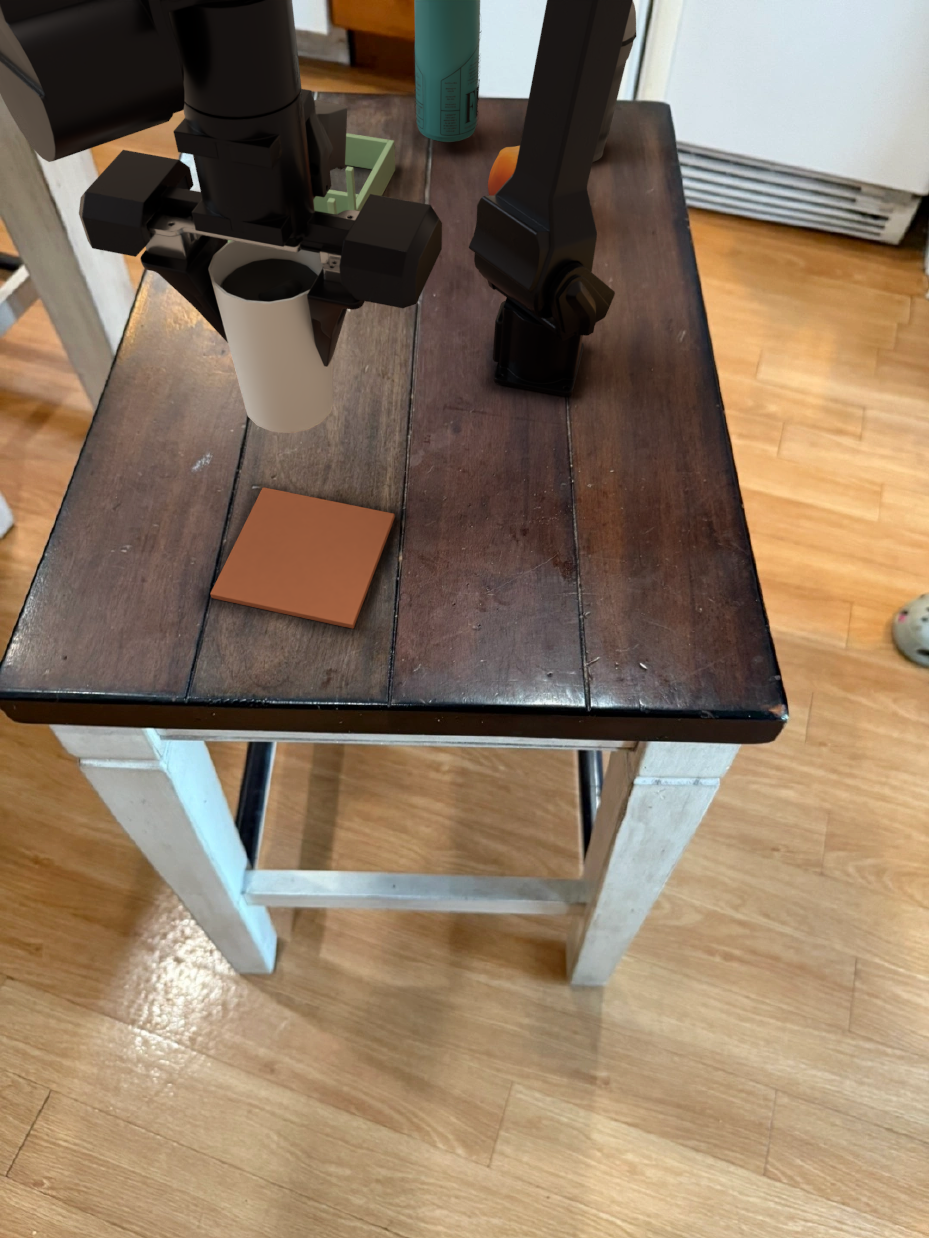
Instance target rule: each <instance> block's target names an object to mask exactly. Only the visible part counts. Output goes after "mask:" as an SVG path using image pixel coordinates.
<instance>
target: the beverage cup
mask: <svg viewBox="0 0 929 1238" xmlns="http://www.w3.org/2000/svg"><path fill="white" fill-rule="evenodd" d="M636 11H637V10H636V5H635V2H634V0H633V1H632V5H631V9H630V13H629V17H628V21H627V25H626V29H625V34H624V38H623V42H622V46H621V50H620V54H619V58H618V62H617V66H616V70H615V74H614V78H613V82H612V86H611V90H610V94H609V98H608V102H607V106H606V110H605V114H604V118H603V122H602V126H601V130H600V134H599V138H598V143H597V147H596V151H595V155H594V159H593V163H594V162H597V161H599V160H600V159H601V158H602V157H603V155H604V149H605V147H606V143H607V141H608V138H609V133H610V130H611V125H612V121H613V117H614V113H615V110H616V105H617V100H618V97H619V93H620V90H621V89H620V88H621V85H622V82H623V76H624V73H625V68H626V64H627V61H628V60H629V57H630V55H631V52H632V49H633V46H634V41H635V39H637V12H636Z"/></svg>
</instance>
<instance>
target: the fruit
mask: <svg viewBox="0 0 929 1238" xmlns="http://www.w3.org/2000/svg"><path fill="white" fill-rule="evenodd" d="M519 148H520V145H517V146H516V145H515V146H506V147H504V148H502V149H500V151H499V153H498V154H497V156H496V158H495V160H494V162H493V164H492V166H491V169H490V171H489V175H488V182H487V191H488V196H494V195H495V194H496V192H497V191H498V190H499V189H500V188H501V187H502V186H503V185H504V183H505V182H506V181H507V180H508V179H509V178H510V177H511V176H512V175H513V173H514V171H515V167H516V164H517V159H518V153H519Z"/></svg>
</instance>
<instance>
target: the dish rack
mask: <svg viewBox="0 0 929 1238" xmlns="http://www.w3.org/2000/svg"><path fill="white" fill-rule="evenodd" d="M345 166H346V167H345V182H346V183H345V184H346V191H341V190H335V189H331V188H330V189H329V191H328V192H327V194H326V196H325V197H318V196H316V197H315V198H314V210H315V211H319V212H325V213H330V214H339V213H340V212H342V211H345V210H355V211H361V209H362V207H363V206H364V204H365V202H366V200H367V199H368V197H369V195H370V194H373V195H379V196H383V194H384V192H385V190H386V189H387V187H388V185H389V183H390V181H391V179H392V177H393V175H394V173H395V171H396V148H395V140H393V139H387V138H382V137H381V138H380V137H375V136H368V135H360V134H356V133H355V134H354V133H349V132H346V154H345ZM355 167H356V168H361V169H368V170H371V171H370V173H369V175H368V177H367V178H366V181H365V182H364V184H363V186H362V188H361V190H360V191H359V193H356V181H355ZM229 242H231V240H228V243H229Z"/></svg>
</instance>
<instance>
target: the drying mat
mask: <svg viewBox="0 0 929 1238" xmlns="http://www.w3.org/2000/svg"><path fill="white" fill-rule="evenodd" d="M395 519H396V518H395V513H392V512H387V511H383V510H378V509H374V508H367V507H362V506H358V505H354V504H353V505H352V504H348V503H344V502H338V501H332V500H329V499H323V498H320V497H319V498H318V497H314V496H308V495H304V494H298V493H294V492H288V491H284V490H278V489H273V488H269V487H262V488H261V490H260V492H259V493H258V496H257V499H256V501H255V502H254V505H253V506H252V508H251V510H250V512H249V515H248V516H247V518H246V521H245V523H244V525H243V526H242V529H241V531H240V533H239V535H238V537H237V538H236V541H235V542H234V544H233V547H232V549H231V551H230V553H229V555H228V557H227V559H226V561H225V563H224V566H223V567H222V569H221V571H220V573H219V575H218V577H217V580H216V582H215V583H214V586H213V587H212V589H211V591H210V598H211V599H215V600H219V601H224V602H229V603H234V604H237V605H243V606H247V607H252V608H257V609H261V610H265V611H270V612H274V613H279V614H284V615H287V616H288V615H289V616H293V617H298V618H302V619H305V620H306V619H307V620H312V621H315V622H321V623H325V624H330V625H334V626H339V627H342V628H343V627H344V628H348V629H353V630H354V628H355V626H356V623H357V621H358V619H359V614H360V612H361V610H362V607H363V604H364V602H365V598H366V597H367V594H368V592H369V588H370V585H371V583H372V580H373V577H374V575H375V572H376V570H377V567H378V564H379V561H380V559H381V557H382V553H383V550H384V548H385V545H386V543H387V540H388V537H389V534H390V532H391V529H392V526H393V525H394V524H393V523H394V521H395Z"/></svg>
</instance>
